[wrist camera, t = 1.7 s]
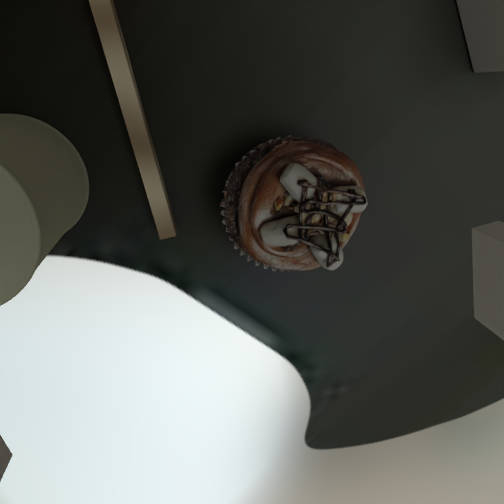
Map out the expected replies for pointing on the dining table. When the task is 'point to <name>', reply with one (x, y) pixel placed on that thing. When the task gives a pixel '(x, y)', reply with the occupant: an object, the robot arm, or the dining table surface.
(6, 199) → the can
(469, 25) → the milk carton
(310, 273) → the dining table surface
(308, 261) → the cupcake
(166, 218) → the guide track
